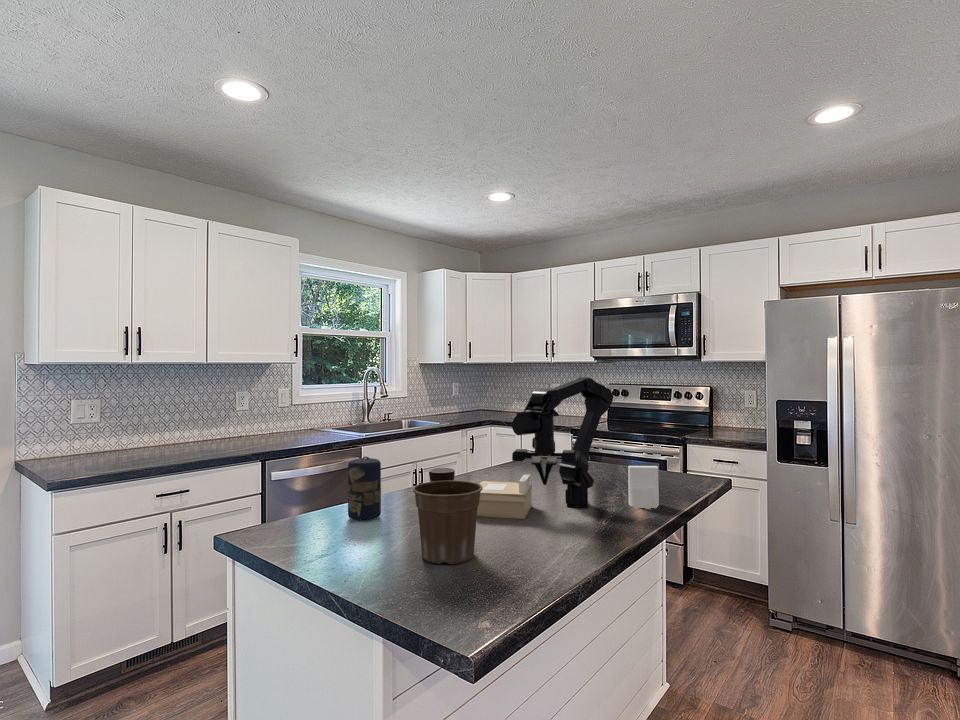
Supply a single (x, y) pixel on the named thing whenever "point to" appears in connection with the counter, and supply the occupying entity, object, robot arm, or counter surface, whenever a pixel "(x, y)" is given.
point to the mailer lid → (506, 490)
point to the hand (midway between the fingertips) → (545, 484)
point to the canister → (364, 489)
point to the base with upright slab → (643, 486)
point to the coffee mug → (441, 474)
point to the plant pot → (447, 519)
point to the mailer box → (505, 508)
